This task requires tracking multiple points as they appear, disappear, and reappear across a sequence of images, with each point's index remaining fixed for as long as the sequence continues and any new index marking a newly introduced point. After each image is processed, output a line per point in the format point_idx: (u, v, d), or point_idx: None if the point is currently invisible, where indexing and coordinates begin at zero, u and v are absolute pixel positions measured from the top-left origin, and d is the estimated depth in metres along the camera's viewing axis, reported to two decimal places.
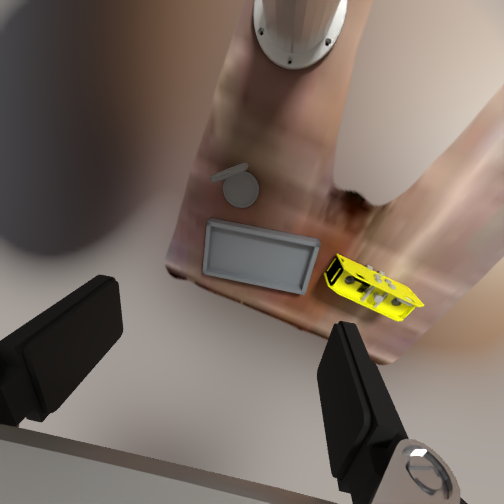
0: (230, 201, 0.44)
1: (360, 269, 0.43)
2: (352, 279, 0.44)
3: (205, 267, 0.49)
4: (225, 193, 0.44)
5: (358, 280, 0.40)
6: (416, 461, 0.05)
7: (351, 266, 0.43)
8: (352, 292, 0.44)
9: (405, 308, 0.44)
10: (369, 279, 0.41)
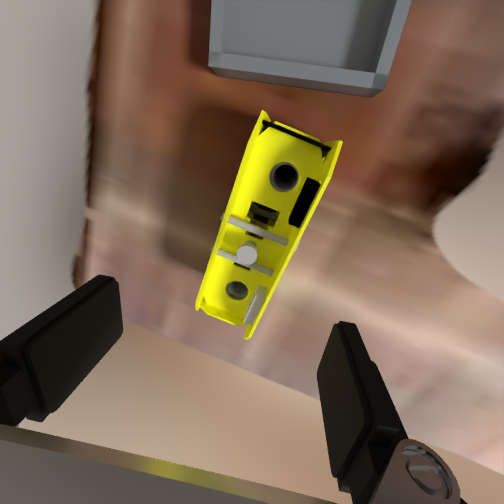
0: None
1: None
2: (278, 187, 0.17)
3: None
4: None
5: (309, 190, 0.13)
6: (416, 461, 0.05)
7: None
8: (245, 191, 0.16)
9: (224, 308, 0.21)
10: None
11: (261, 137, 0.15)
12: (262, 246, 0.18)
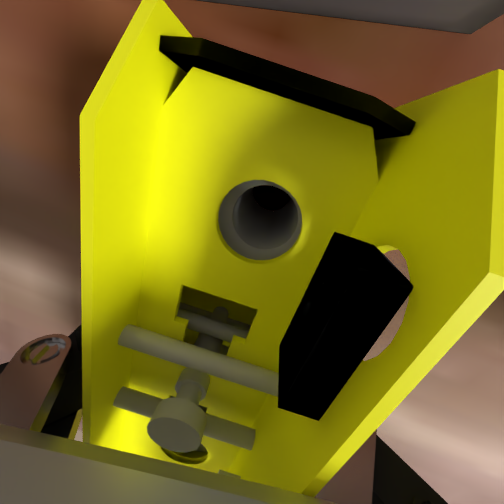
0: None
1: None
2: (250, 240, 0.07)
3: None
4: None
5: (356, 310, 0.03)
6: None
7: None
8: (160, 263, 0.06)
9: None
10: None
11: (173, 107, 0.05)
12: (224, 378, 0.07)
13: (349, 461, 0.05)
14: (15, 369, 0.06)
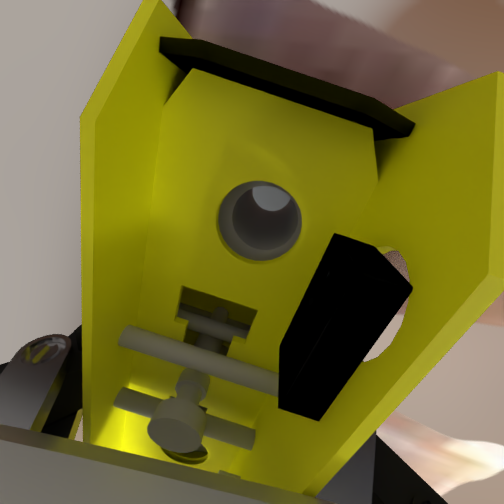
0: None
1: None
2: (250, 241, 0.07)
3: None
4: None
5: (356, 312, 0.03)
6: None
7: None
8: (160, 264, 0.06)
9: None
10: None
11: (173, 108, 0.05)
12: None
13: (349, 461, 0.05)
14: (15, 369, 0.06)
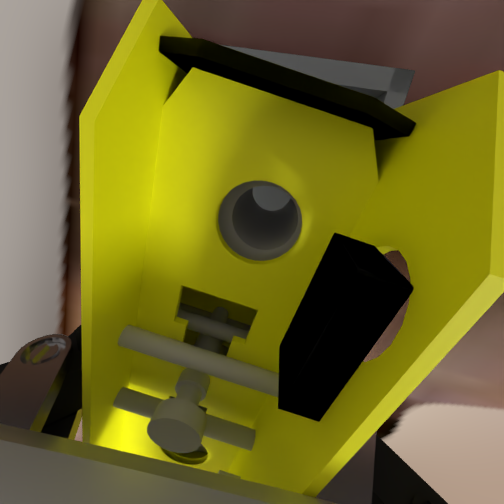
0: None
1: None
2: (250, 241, 0.07)
3: None
4: None
5: (357, 312, 0.03)
6: None
7: None
8: (160, 264, 0.06)
9: None
10: None
11: (173, 107, 0.05)
12: None
13: (349, 461, 0.05)
14: (15, 369, 0.06)
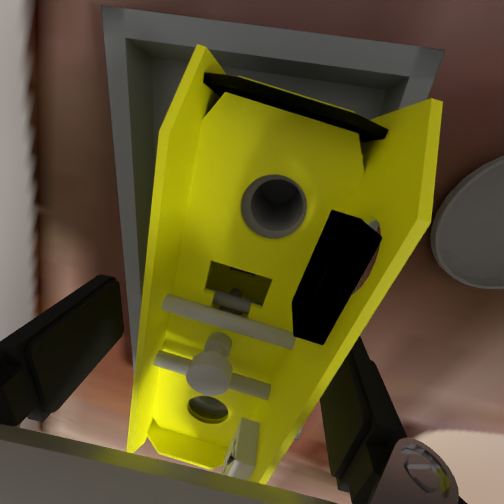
0: None
1: None
2: (264, 225, 0.08)
3: (147, 31, 0.08)
4: None
5: (346, 256, 0.05)
6: (415, 460, 0.05)
7: None
8: (194, 243, 0.08)
9: (190, 433, 0.12)
10: None
11: (210, 121, 0.06)
12: (243, 341, 0.09)
13: None
14: None
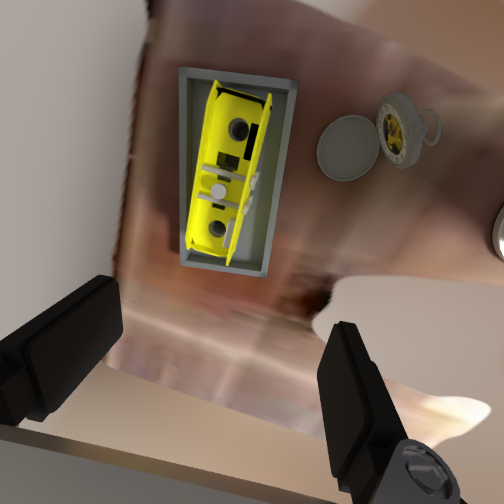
0: (327, 130, 0.25)
1: (259, 150, 0.23)
2: (237, 140, 0.23)
3: (195, 74, 0.23)
4: (342, 120, 0.25)
5: (252, 130, 0.19)
6: (416, 461, 0.05)
7: (265, 126, 0.22)
8: (212, 144, 0.22)
9: (209, 246, 0.26)
10: (254, 159, 0.21)
11: (218, 101, 0.21)
12: (231, 187, 0.23)
13: None
14: None
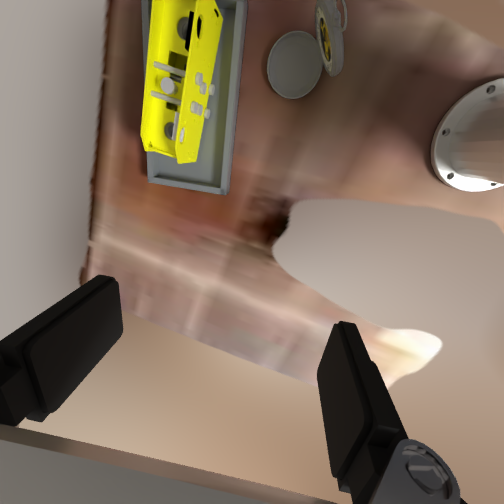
0: (276, 47, 0.28)
1: (207, 54, 0.26)
2: None
3: None
4: (288, 36, 0.28)
5: (191, 19, 0.22)
6: (416, 461, 0.05)
7: (210, 27, 0.25)
8: (164, 43, 0.25)
9: (165, 148, 0.29)
10: (197, 52, 0.24)
11: None
12: (181, 87, 0.26)
13: None
14: None
